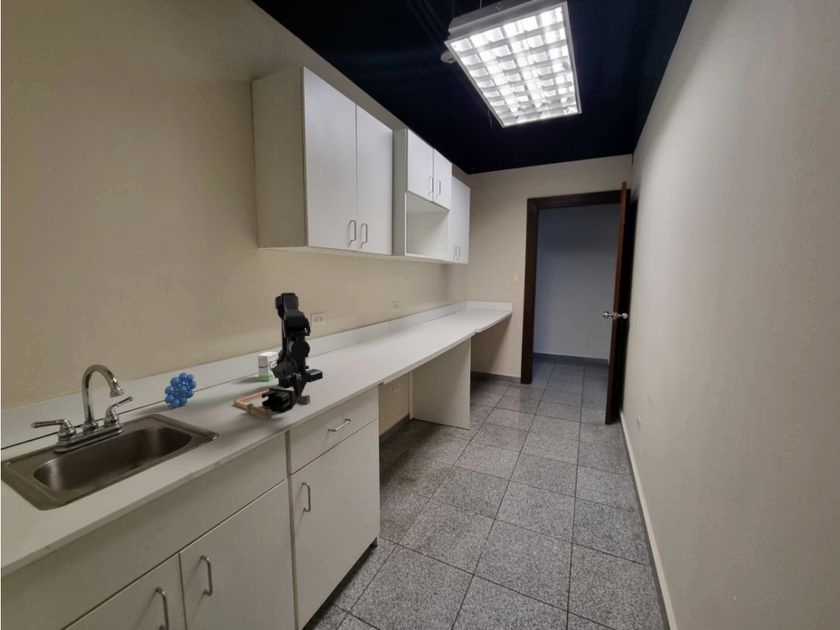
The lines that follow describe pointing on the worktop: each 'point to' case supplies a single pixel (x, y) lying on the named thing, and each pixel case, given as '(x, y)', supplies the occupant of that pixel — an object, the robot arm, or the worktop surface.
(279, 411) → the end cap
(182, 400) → the grapes
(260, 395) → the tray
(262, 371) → the ink box
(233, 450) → the worktop surface
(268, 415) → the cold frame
